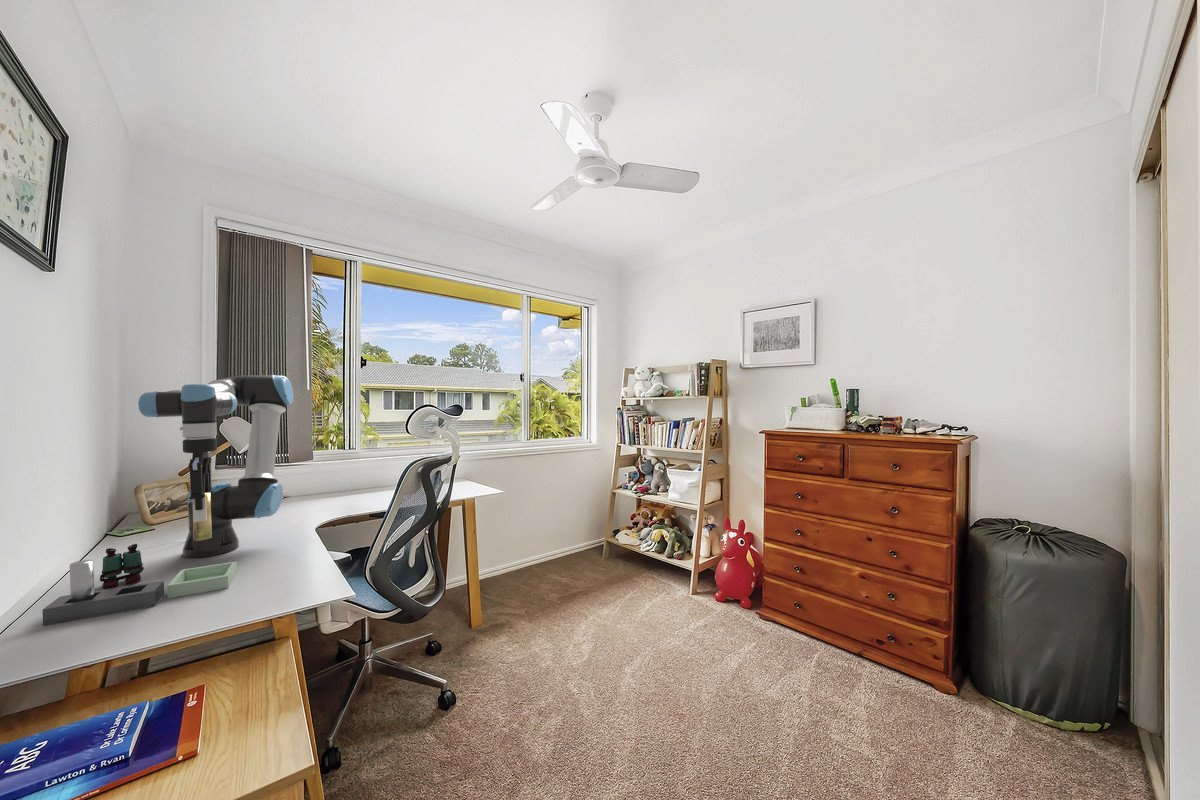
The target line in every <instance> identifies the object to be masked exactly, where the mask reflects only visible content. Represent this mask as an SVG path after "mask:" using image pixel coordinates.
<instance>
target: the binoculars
mask: <svg viewBox="0 0 1200 800" xmlns="http://www.w3.org/2000/svg"><path fill="white" fill-rule="evenodd" d="M137 548H138V543H133V544H131V545H129V546H128V547H127V550H128V551H124V552H123V553H121V552H119V553H116V552H117V549H116V548H106V549H105V553H106V555H105V556H103V557H102V570H101V574H100V575H99V582H101V583H102V587H101V589H102V590H105V589H111V588H118V587H119V584H120V581H122V580H124V583H125V586H130V585H136V584H138V583H139V582H140V581H141V580H142V577H141V573H143V571H144V569H145V567H144V566H143V565H144V563H143V560H142V552H141V550H138V549H137ZM122 572H123V573H124V574H126V575H121V574H122ZM119 575H120V576H119Z"/></svg>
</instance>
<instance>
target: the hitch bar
mask: <svg viewBox="0 0 1200 800" xmlns="http://www.w3.org/2000/svg"><path fill="white" fill-rule="evenodd" d="M165 592H166V591H165V580H164V579H163V580H158V581H157V580H156V581H151V582H145V583H143V582H142V583H136V584H132V585H125V586H118V587H116V588H111V589H101V590H94V595H95V597H94V598H93V599H91V600H85V601H79V602H73V603H71V594H69V595H62V596H58V597H57V598H56V599H54V600H53V601H51V603H49V604H48V605H46V606H45V607H43V609H42V627H43V626H44V627H45V626H50V625H57V624H63V623H67V622H73V621H78V620H84V619H88V618H89V619H90V618H95V617H101V616H105V615H106V616H107V615H113V614H119V613H123V612H124V613H125V612H130V611H135V610H141V609H147V608H151V607H152V608H153V607H155V606H156V605H157V604H158V603H159V602H160V601H161V600H162V598H163V597H164V596H165V594H166V593H165Z"/></svg>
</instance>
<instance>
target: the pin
mask: <svg viewBox="0 0 1200 800" xmlns="http://www.w3.org/2000/svg"><path fill="white" fill-rule="evenodd" d="M94 568H95V567H94V559H83V560H79V561H75V562H71V563H70V564H69V579H70V581H69V582H70V583H69V585H70V595H71V603H73V602H79V601H85V600H91V599H93V598H94V597H95V595H94V591H95V571H94Z"/></svg>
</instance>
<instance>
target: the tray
mask: <svg viewBox="0 0 1200 800" xmlns="http://www.w3.org/2000/svg"><path fill="white" fill-rule="evenodd" d="M237 567H238V562H237V561H230V562H224V563H218V564H209V565H205V566H198V567H191V568H186V569H181V570H179V572H178V573H177V574H176V575H175V576H174V578H172V580H171V581H170V582H169V583H168V584H167V585H166V587H167V599H172V598H177V597H182V596H188V595H193V594H194V595H195V594H200V593H206V592H210V591H211V592H212V591H216V590H217V591H219V590H224V589H228V588H229V587H230V586H231V584H232V582H233V581H234V578H235V577H236V575H237V572H238V568H237Z"/></svg>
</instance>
